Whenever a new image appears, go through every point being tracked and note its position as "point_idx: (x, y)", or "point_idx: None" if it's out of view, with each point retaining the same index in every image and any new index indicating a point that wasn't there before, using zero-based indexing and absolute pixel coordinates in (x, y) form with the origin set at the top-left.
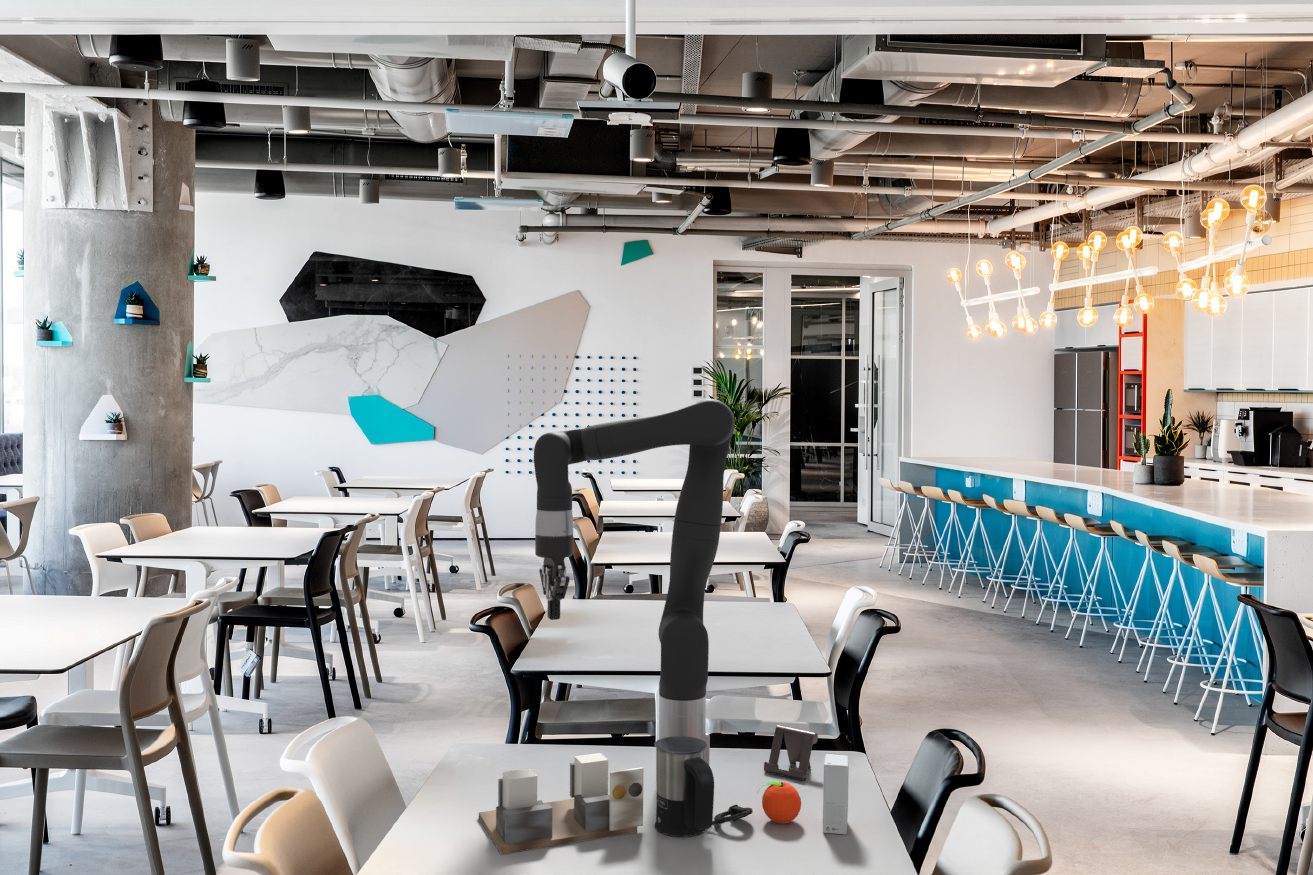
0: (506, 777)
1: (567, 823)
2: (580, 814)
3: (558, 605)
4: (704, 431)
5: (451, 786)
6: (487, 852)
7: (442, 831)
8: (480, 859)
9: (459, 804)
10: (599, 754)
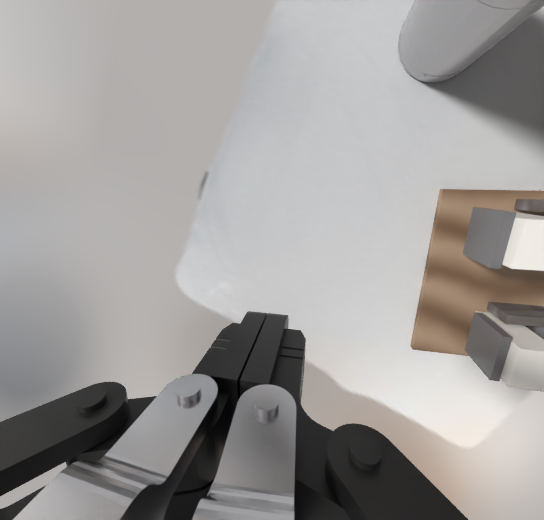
0: (533, 389)
1: (512, 274)
2: None
3: (299, 384)
4: None
5: None
6: None
7: (425, 385)
8: None
9: (360, 349)
10: (532, 224)
